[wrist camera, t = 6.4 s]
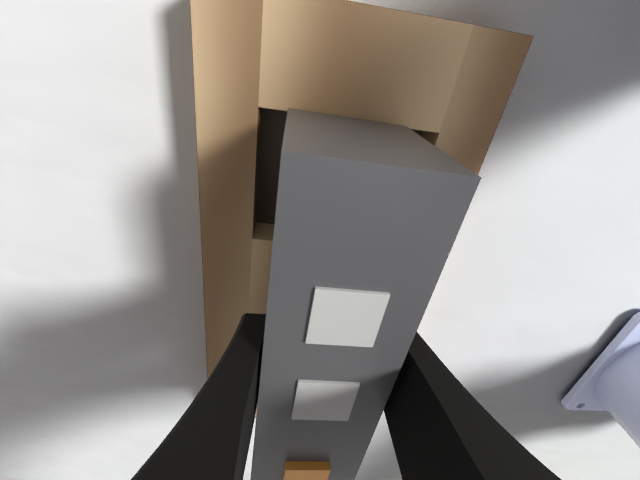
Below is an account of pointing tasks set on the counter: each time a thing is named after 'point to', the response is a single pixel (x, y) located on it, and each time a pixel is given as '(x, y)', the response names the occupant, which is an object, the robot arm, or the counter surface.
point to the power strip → (347, 284)
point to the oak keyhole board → (323, 97)
